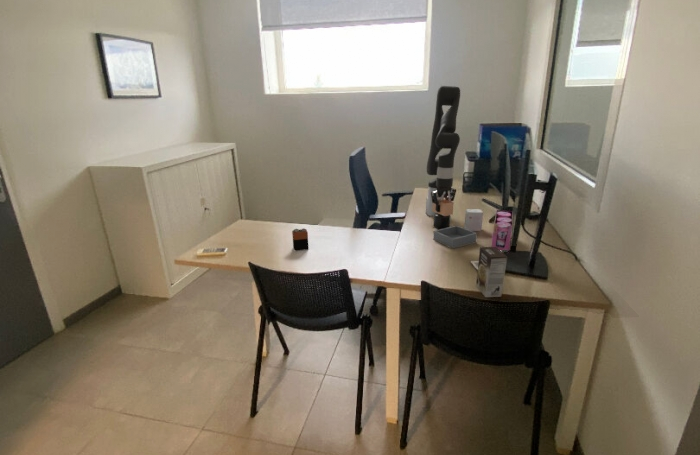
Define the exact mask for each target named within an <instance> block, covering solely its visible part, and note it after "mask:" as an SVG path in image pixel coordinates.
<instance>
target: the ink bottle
mask: <svg viewBox="0 0 700 455" xmlns="http://www.w3.org/2000/svg"><path fill="white" fill-rule="evenodd" d="M451 216H452V215H448V216H443V215H441V214H438V213H435V214H434V217H433V225H432V226H433V227H434V228H436V229H438V230H440V229H444V228H448V227H451Z"/></svg>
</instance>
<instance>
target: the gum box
mask: <svg viewBox="0 0 700 455" xmlns="http://www.w3.org/2000/svg"><path fill="white" fill-rule="evenodd" d="M513 212H514V211H511V210H502V209H496V212H495V216H494V217H495V218H494V221H493V222H494V224H493V231H492V238H491V246H490V247H497V248H498V249H499V250H508V251H510V243H511V236H512V230H513Z"/></svg>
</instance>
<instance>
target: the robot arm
mask: <svg viewBox="0 0 700 455" xmlns="http://www.w3.org/2000/svg"><path fill="white" fill-rule="evenodd" d="M460 101H461V89H460V87H459V86H453V85H452V86H450V85H441V86H439V87H438V90H437V93H436V104H435V114H434V122H433V128H432V132H431V140H430V141H431V142H430V149H429V154H428V158H427V163H426V173H427V174H428V175H429V176H436V178H434V179H431V180H429V181H428V186H427V188H428V189H427V197H426V199H425V200H426V202H425V203H426V204H425V214H426V215H427V216H429V217H433V218H434V214H435V213H436V212H440V204H441V201H442V200H443V199H445V200H448V201H451V202H454V201H455V197H456V193H457V189H456V188H454V187H453V184H454V164H455V156H456V153H457V149H458V147H459V144H460V141H461V140H460V139H461V138H460V135H459V134H458V133H457V132H456V131H457V115H458V113H459V112H458V111H459V107H460V106H459V105H460ZM443 106H445V107H449V108H448V109H447V110H446V111H444V109H443ZM442 149H443V150H444V149H446V150H447V149H449V151H448V152H445V153H440V152H441V151H442ZM439 153H440V154H439ZM437 156H438V158H437ZM438 201H439V202H438ZM433 203H434V204H436V212H433V211H432V207H433Z"/></svg>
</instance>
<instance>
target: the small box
mask: <svg viewBox="0 0 700 455" xmlns="http://www.w3.org/2000/svg"><path fill="white" fill-rule="evenodd" d="M483 217H484V212H483V211H482V209H481V208H480V209H477V208H476V209H474V208H473V209H472V208H471V209H469V208H467V209H466V208H465V216H464V225H463V226H464V227H463V228H465V229H467V230H470V231H472V232H481V231H482V228H483V227H482V226H483Z"/></svg>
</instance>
